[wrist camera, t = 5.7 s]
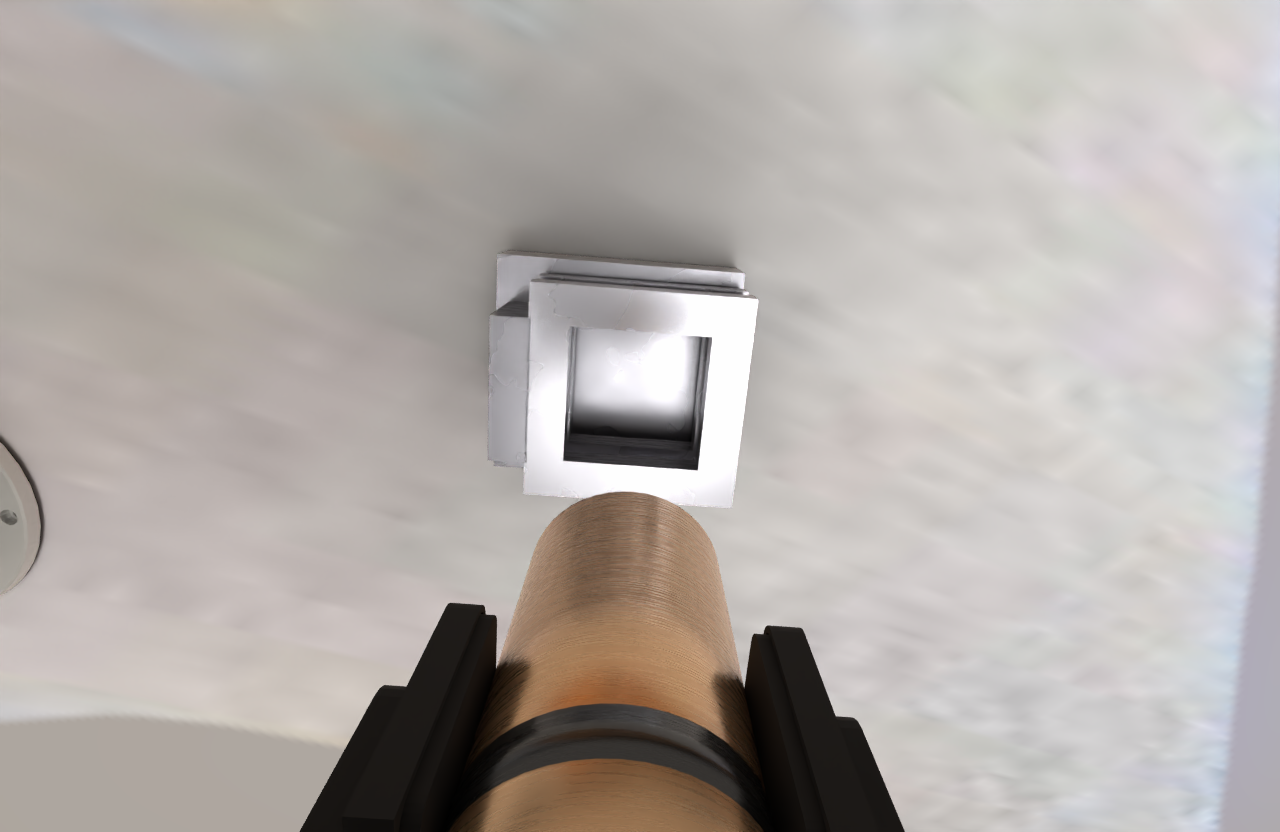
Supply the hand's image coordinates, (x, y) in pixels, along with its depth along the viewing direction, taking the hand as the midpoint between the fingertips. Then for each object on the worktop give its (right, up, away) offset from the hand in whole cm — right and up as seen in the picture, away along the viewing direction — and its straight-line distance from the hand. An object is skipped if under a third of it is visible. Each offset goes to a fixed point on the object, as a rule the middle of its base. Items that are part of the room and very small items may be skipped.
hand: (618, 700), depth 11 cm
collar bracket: (-1, +7, +24) cm, 25 cm away
